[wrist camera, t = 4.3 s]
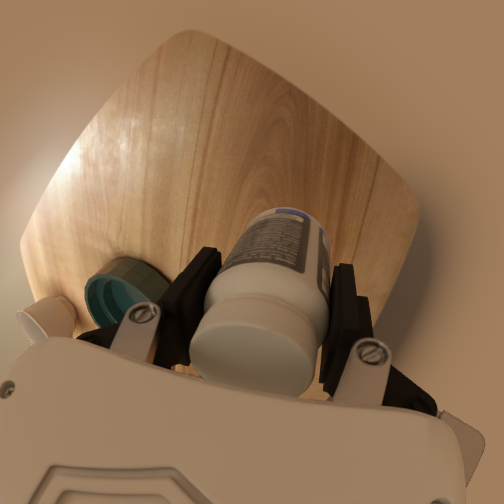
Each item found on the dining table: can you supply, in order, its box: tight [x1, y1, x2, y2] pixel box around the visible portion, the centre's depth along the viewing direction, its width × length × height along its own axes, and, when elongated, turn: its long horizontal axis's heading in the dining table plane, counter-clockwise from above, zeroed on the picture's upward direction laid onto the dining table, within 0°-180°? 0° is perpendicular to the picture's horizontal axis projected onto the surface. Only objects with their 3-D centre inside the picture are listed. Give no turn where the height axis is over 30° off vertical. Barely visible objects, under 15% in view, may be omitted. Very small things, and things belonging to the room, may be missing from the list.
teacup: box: [17, 296, 77, 345], centre depth 42 cm, size 12×15×10 cm
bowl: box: [85, 258, 170, 328], centre depth 36 cm, size 14×14×5 cm
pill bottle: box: [189, 207, 330, 397], centre depth 12 cm, size 5×5×8 cm
